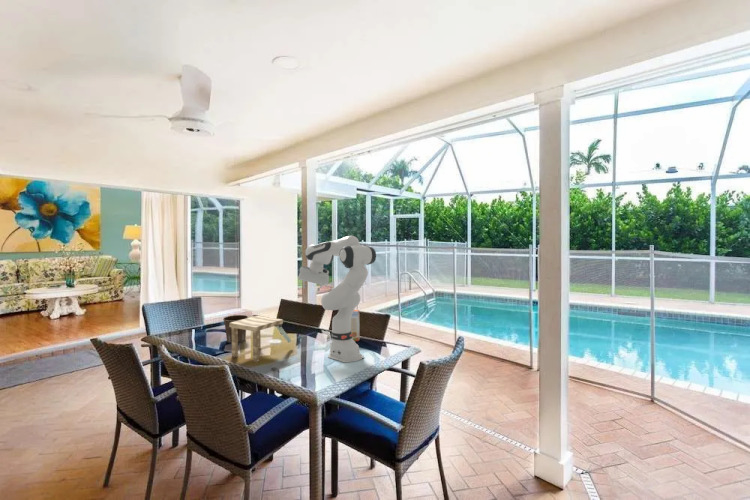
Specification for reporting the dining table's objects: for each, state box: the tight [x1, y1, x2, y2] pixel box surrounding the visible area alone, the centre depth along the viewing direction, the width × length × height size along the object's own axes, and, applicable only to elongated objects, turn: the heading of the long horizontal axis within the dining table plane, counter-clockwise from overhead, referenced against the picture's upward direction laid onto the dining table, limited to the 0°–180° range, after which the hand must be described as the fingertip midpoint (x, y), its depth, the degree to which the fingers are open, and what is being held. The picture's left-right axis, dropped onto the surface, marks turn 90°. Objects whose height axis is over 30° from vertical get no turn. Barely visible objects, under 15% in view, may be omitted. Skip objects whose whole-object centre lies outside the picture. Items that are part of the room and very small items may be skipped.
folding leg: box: [275, 325, 292, 343], centre depth 237 cm, size 2×2×17 cm
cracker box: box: [337, 309, 361, 342], centre depth 260 cm, size 14×6×21 cm, turn 84°
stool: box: [229, 315, 284, 363], centre depth 230 cm, size 22×22×20 cm
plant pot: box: [222, 314, 249, 344], centre depth 260 cm, size 16×16×16 cm
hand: (311, 289), depth 247 cm, fingers open, 8 cm apart
